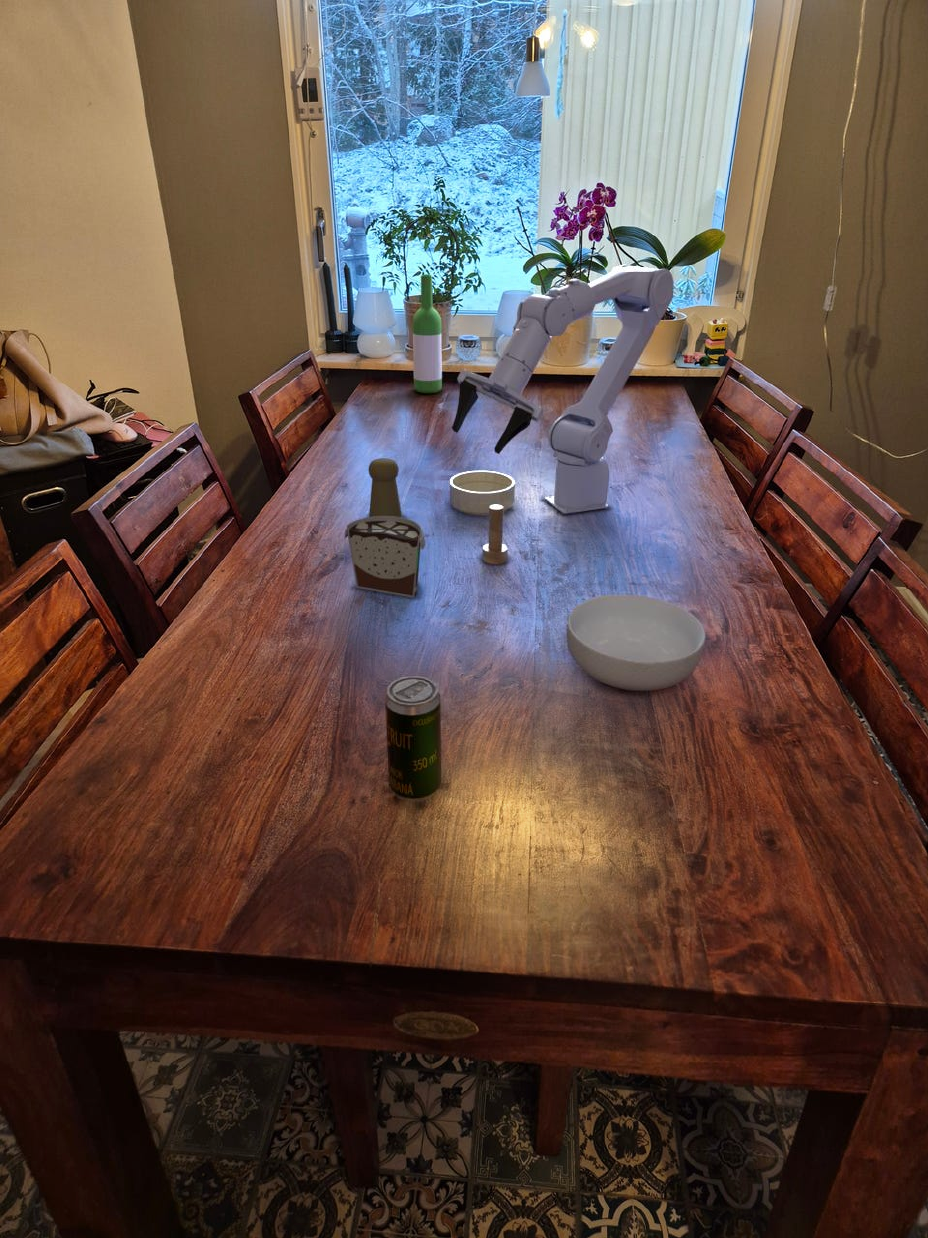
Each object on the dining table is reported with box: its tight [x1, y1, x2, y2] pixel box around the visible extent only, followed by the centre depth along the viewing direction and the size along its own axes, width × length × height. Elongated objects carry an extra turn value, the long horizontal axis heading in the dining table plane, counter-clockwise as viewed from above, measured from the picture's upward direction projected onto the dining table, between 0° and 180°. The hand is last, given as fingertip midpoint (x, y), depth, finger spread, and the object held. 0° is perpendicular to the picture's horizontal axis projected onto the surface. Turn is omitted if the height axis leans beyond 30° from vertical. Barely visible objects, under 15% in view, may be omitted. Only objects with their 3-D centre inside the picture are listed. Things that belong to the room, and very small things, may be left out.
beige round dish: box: [449, 470, 516, 516], centre depth 152 cm, size 12×12×4 cm
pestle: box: [482, 504, 509, 565], centre depth 130 cm, size 4×4×9 cm
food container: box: [344, 516, 426, 599], centre depth 122 cm, size 12×6×10 cm, turn 71°
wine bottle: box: [412, 273, 443, 394], centre depth 220 cm, size 8×8×30 cm
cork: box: [368, 457, 403, 518], centre depth 143 cm, size 6×6×11 cm
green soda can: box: [384, 675, 442, 803], centre depth 81 cm, size 5×5×12 cm
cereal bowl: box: [566, 593, 707, 692], centre depth 101 cm, size 17×17×7 cm
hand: (475, 440), depth 130 cm, fingers open, 7 cm apart
